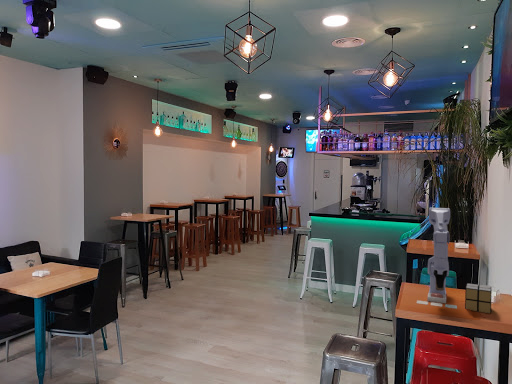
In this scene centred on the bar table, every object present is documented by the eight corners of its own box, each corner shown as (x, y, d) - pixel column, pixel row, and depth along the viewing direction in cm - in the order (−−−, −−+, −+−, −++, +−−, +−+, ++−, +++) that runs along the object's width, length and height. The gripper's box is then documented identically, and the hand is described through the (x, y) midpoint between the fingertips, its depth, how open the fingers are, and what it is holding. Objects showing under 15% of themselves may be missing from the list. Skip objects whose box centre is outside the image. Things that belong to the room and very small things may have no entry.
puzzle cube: (466, 304, 183) (466, 283, 182) (490, 308, 178) (491, 286, 177) (464, 310, 174) (465, 287, 174) (491, 314, 169) (491, 291, 169)
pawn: (435, 288, 181) (435, 273, 181) (444, 289, 180) (443, 274, 180) (435, 290, 178) (435, 275, 178) (443, 290, 177) (443, 276, 177)
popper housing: (428, 297, 192) (428, 292, 192) (446, 299, 189) (446, 294, 189) (427, 302, 185) (427, 296, 185) (446, 304, 182) (446, 299, 182)
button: (431, 298, 190) (431, 292, 190) (442, 299, 188) (442, 293, 188) (431, 301, 186) (431, 294, 186) (442, 302, 184) (442, 296, 184)
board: (415, 301, 186) (415, 299, 186) (458, 306, 178) (458, 305, 178) (415, 304, 181) (415, 303, 181) (458, 310, 173) (458, 309, 173)
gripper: (432, 254, 187) (431, 282, 187) (430, 259, 174) (429, 289, 174) (448, 255, 184) (447, 284, 184) (447, 260, 171) (447, 291, 171)
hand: (440, 286), depth 179 cm, fingers closed on pawn, 3 cm apart
